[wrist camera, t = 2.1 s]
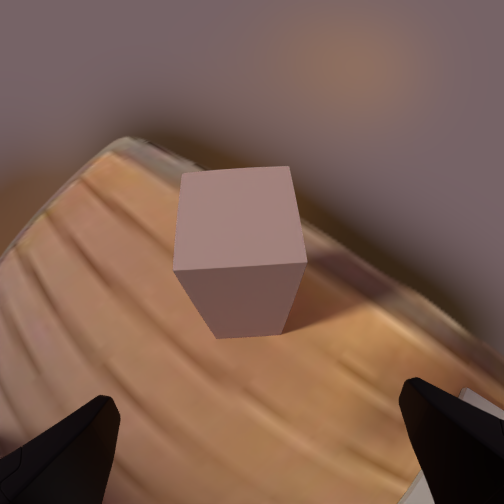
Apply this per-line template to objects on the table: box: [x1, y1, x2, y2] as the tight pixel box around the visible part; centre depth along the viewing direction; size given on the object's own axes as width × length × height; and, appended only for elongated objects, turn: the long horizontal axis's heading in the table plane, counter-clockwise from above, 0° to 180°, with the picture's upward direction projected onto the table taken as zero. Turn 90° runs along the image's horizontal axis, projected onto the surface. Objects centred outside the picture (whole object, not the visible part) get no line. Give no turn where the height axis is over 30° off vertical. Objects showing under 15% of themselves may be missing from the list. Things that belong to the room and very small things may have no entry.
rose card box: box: [173, 166, 307, 339], centre depth 17 cm, size 5×5×12 cm
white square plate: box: [398, 387, 504, 504], centre depth 11 cm, size 18×18×1 cm
